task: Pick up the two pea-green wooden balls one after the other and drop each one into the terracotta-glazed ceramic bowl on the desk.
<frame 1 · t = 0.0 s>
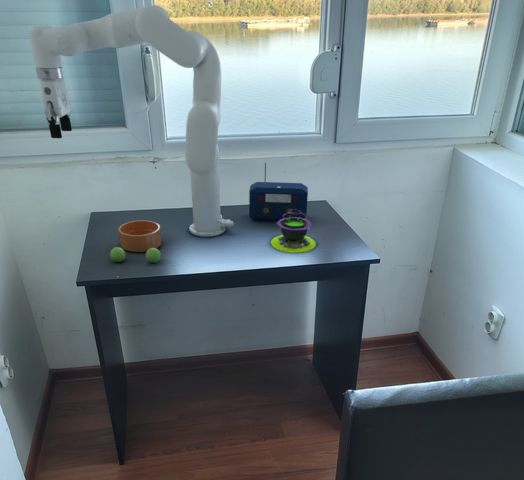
hand: (62, 134, 165), 31 cm above the table, tool pointing down, fingers open, 9 cm apart
toy cauldron: (293, 244, 175), on the table
pea ball b: (117, 254, 160), point 2 cm above the table
pea ball a: (153, 255, 160), point 2 cm above the table
radio: (277, 218, 194), on the table
bowl: (141, 245, 172), on the table
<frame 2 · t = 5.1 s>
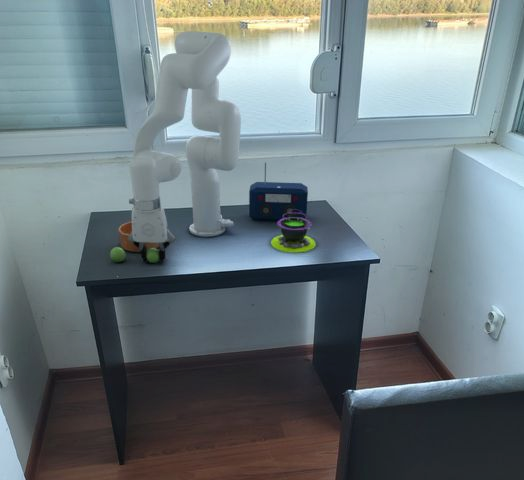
hand: (153, 260, 161), 1 cm above the table, tool pointing down, fingers closed on pea ball a, 4 cm apart
pea ball a: (153, 255, 160), point 2 cm above the table, touching gripper
everything else where it was.
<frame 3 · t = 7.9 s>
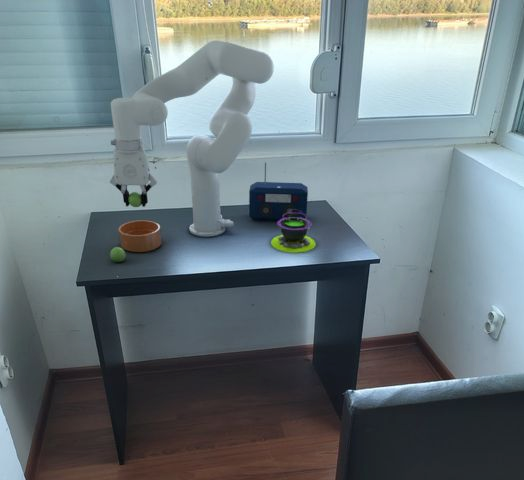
hand: (136, 204, 164), 14 cm above the table, tool pointing down, fingers closed on pea ball a, 4 cm apart
pea ball a: (135, 199, 163), point 15 cm above the table, touching gripper
everything else where it was.
when the fingers open (3 cm above the table, at t = 10.8 s): pea ball a drops 2 cm, resting on bowl.
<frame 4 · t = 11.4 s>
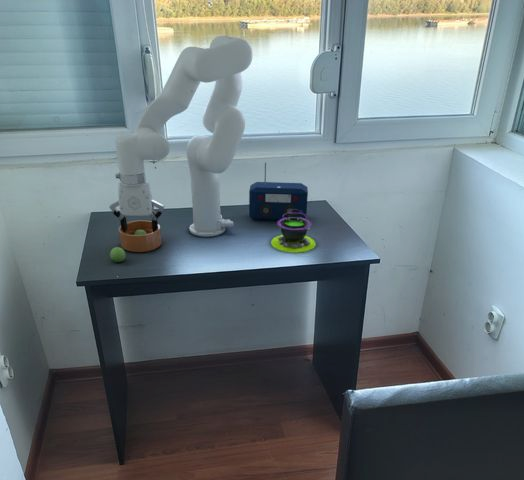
hand: (140, 230, 169), 5 cm above the table, tool pointing down, fingers open, 9 cm apart
pea ball a: (140, 236, 170), point 3 cm above the table, touching bowl
everything else where it was.
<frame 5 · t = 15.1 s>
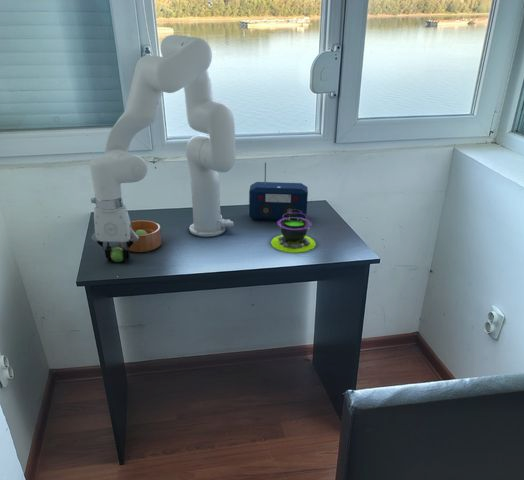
hand: (118, 259, 161), 1 cm above the table, tool pointing down, fingers closed on pea ball b, 4 cm apart
pea ball b: (117, 254, 160), point 2 cm above the table, touching gripper
everything else where it was.
when the fingers open (6 cm above the table, at t = 20.1 s): pea ball b stays where it is, resting on pea ball a.
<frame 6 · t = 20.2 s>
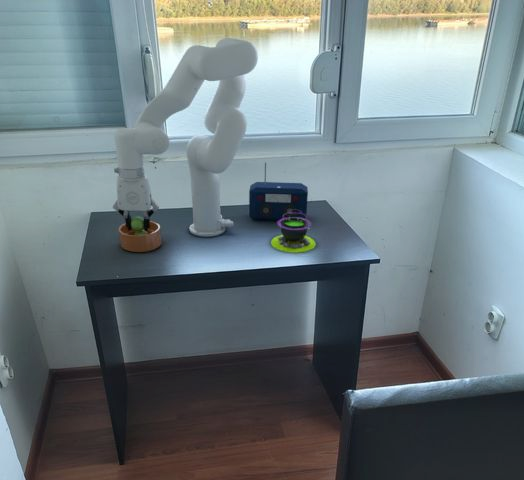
hand: (138, 228, 168), 6 cm above the table, tool pointing down, fingers open, 4 cm apart
pea ball b: (137, 223, 167), point 7 cm above the table, touching gripper, pea ball a
pea ball a: (141, 236, 170), point 3 cm above the table, tilted 8°, touching bowl, pea ball b
everything else where it was.
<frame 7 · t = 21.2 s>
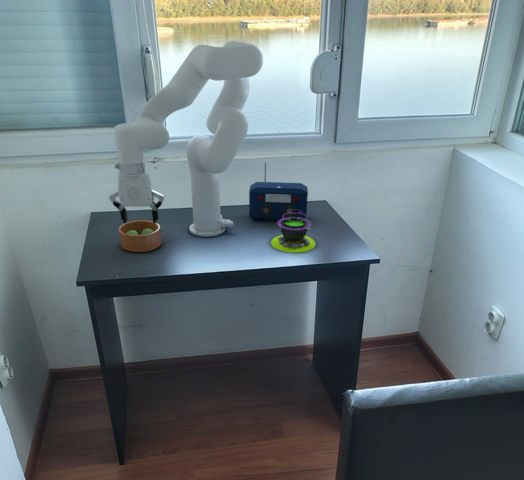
hand: (140, 221, 168), 8 cm above the table, tool pointing down, fingers open, 9 cm apart
pea ball b: (132, 237, 170), point 3 cm above the table, tilted 157°, touching bowl
pea ball a: (148, 235, 171), point 3 cm above the table, tilted 62°, touching bowl
everything else where it was.
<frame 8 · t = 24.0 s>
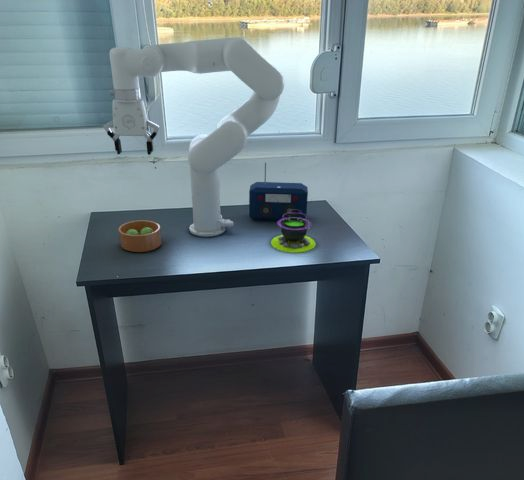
hand: (134, 153, 166), 26 cm above the table, tool pointing down, fingers open, 9 cm apart
pea ball b: (132, 236, 170), point 3 cm above the table, tilted 137°, touching bowl
pea ball a: (147, 234, 172), point 3 cm above the table, tilted 65°, touching bowl
everything else where it was.
at the end: pea ball a inside the target area in the bowl (2.8 cm from its centre), point 2.9 cm above the bowl's base; pea ball b inside the target area in the bowl (2.7 cm from its centre), point 2.9 cm above the bowl's base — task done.
